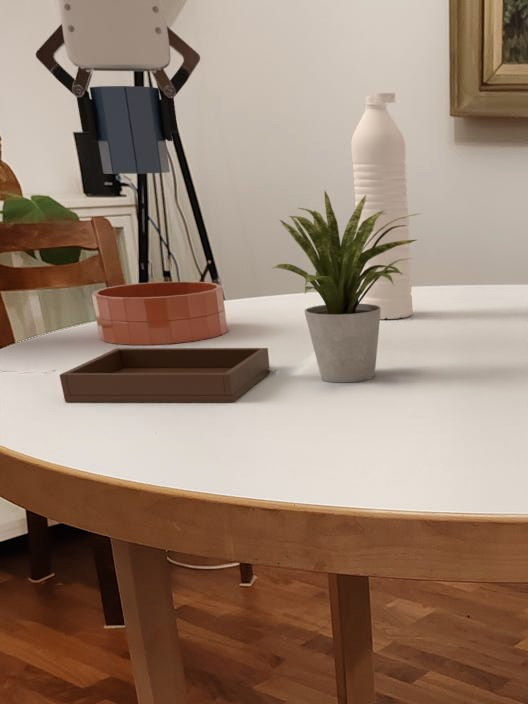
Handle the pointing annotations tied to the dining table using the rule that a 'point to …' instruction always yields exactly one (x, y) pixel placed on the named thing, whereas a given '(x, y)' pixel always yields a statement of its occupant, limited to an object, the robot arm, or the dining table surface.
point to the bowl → (160, 312)
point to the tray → (166, 375)
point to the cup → (130, 129)
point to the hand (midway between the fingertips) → (132, 139)
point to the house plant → (342, 292)
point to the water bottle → (383, 203)
